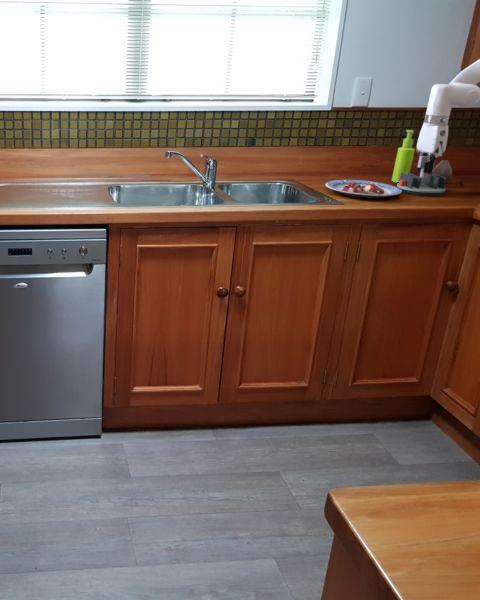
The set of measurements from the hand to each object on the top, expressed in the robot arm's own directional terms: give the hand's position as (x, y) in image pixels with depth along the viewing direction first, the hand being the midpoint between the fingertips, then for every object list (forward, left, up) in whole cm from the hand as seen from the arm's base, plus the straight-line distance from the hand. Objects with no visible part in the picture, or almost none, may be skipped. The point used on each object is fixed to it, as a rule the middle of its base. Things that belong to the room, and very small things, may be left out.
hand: (424, 171), depth 225 cm
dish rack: (0, 0, -6) cm, 6 cm away
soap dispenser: (+5, -18, -8) cm, 20 cm away
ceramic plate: (+20, +12, -8) cm, 25 cm away
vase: (-10, -22, -8) cm, 25 cm away
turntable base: (0, 0, -8) cm, 8 cm away
